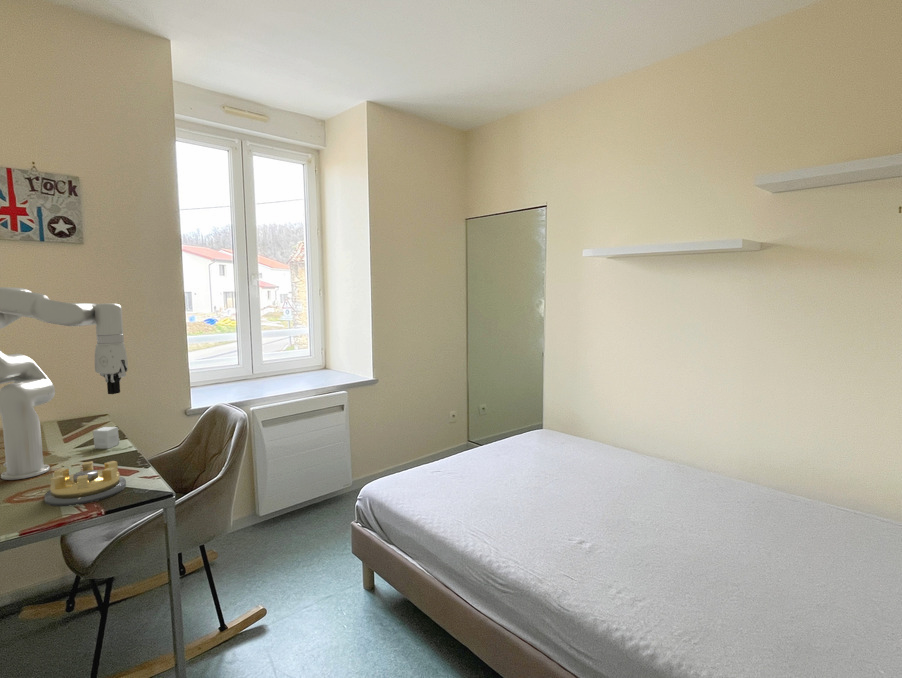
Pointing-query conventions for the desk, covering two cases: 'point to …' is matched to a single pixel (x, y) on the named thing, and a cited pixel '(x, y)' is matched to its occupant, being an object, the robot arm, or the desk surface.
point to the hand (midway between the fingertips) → (114, 393)
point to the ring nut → (84, 481)
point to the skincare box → (106, 437)
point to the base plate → (85, 499)
